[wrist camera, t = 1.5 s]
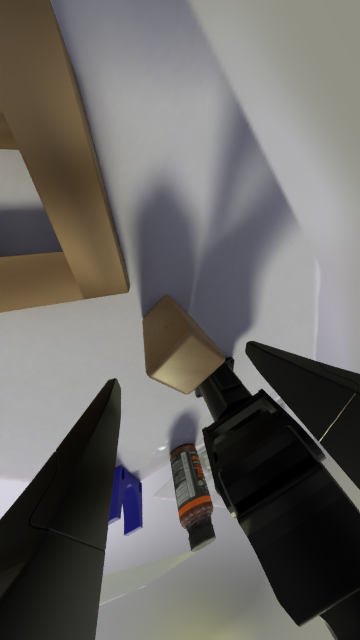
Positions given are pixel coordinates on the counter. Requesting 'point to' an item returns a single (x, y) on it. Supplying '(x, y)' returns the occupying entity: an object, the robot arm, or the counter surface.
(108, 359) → the counter surface
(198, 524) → the supplement bottle
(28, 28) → the socket collar
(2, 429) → the counter surface
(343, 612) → the robot arm
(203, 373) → the wooden block
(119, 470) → the cable clip
